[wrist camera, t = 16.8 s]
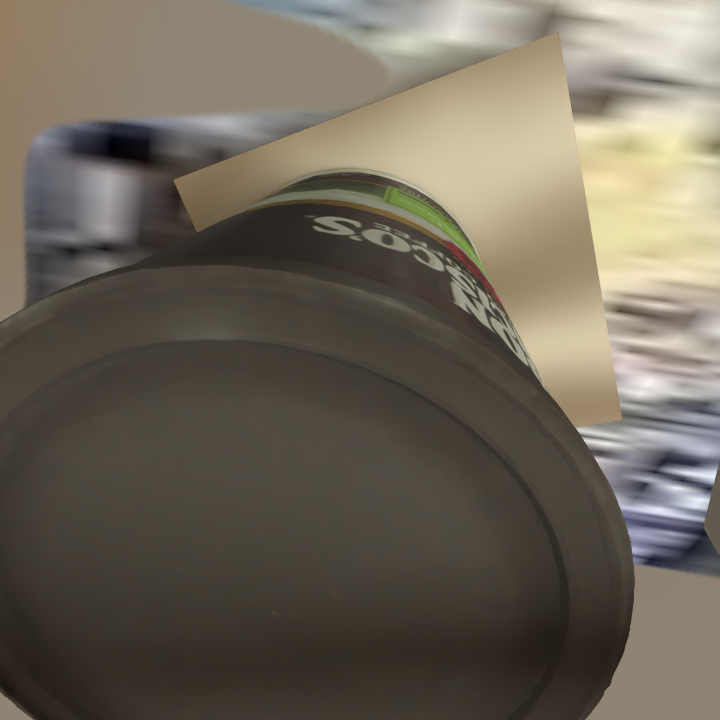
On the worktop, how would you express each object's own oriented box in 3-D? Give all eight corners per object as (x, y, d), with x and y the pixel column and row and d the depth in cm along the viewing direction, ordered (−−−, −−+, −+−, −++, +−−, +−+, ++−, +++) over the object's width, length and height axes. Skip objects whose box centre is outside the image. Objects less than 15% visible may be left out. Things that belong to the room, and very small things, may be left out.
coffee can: (351, 96, 17) (193, 19, 4) (543, 314, 20) (796, 668, 7) (167, 300, 21) (-219, 588, 8) (350, 463, 23) (281, 880, 10)
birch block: (234, 164, 25) (173, 180, 20) (534, 51, 21) (558, 32, 16) (332, 409, 30) (305, 474, 25) (589, 355, 26) (621, 419, 21)
